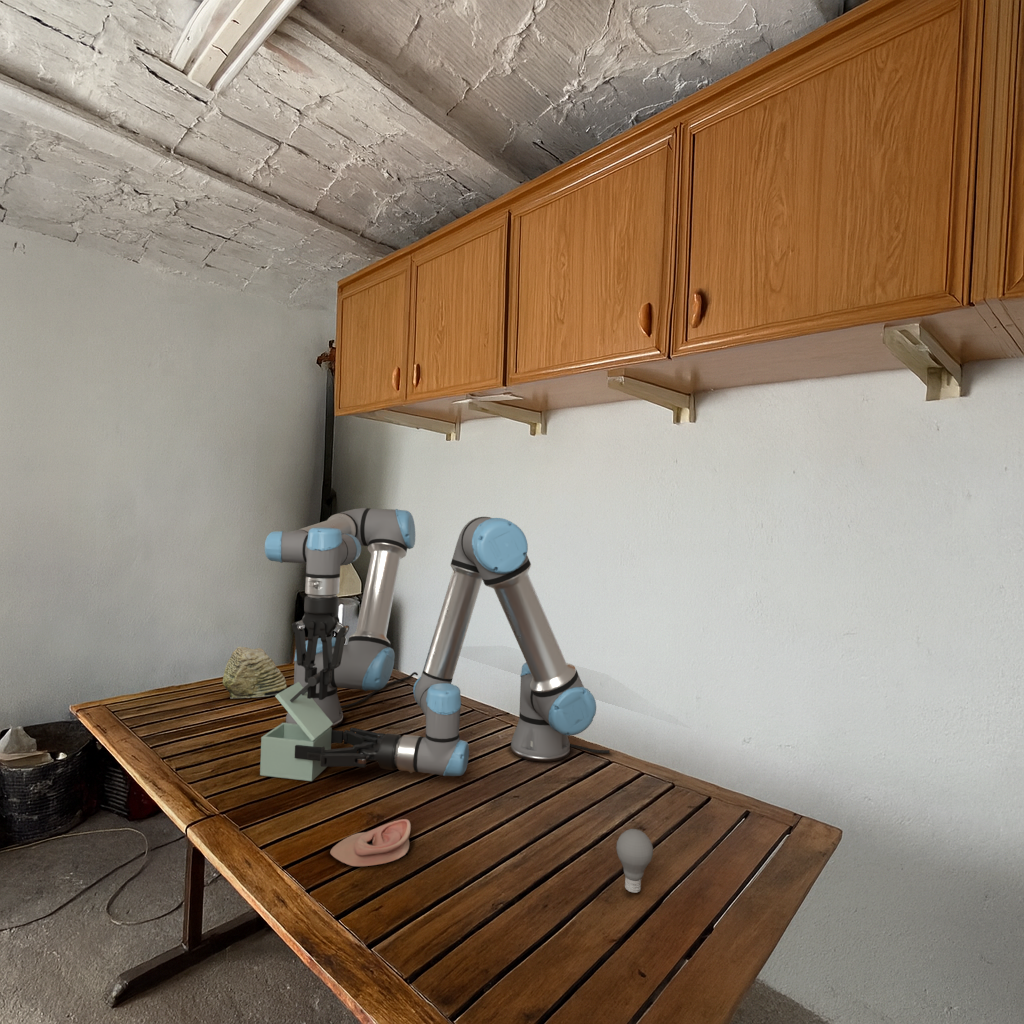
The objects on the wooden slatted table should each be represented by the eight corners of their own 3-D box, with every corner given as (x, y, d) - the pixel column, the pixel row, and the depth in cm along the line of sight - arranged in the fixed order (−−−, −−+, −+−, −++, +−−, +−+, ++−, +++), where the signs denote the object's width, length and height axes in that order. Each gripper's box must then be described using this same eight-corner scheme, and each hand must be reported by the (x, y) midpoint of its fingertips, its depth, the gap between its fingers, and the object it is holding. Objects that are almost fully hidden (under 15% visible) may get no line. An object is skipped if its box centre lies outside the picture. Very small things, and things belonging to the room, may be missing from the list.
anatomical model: (322, 838, 110) (352, 807, 121) (321, 861, 110) (351, 828, 121) (394, 850, 107) (417, 817, 119) (393, 873, 107) (416, 838, 119)
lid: (274, 696, 142) (303, 670, 141) (295, 684, 151) (322, 659, 150) (311, 741, 141) (340, 715, 140) (330, 726, 150) (357, 702, 149)
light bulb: (610, 879, 108) (613, 822, 108) (644, 879, 109) (647, 822, 109) (619, 902, 102) (622, 840, 102) (655, 901, 103) (658, 840, 103)
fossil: (218, 695, 195) (220, 647, 195) (278, 685, 208) (279, 640, 207) (228, 703, 189) (230, 653, 188) (289, 692, 201) (290, 645, 201)
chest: (259, 775, 143) (261, 737, 142) (281, 758, 152) (282, 722, 152) (311, 781, 141) (313, 742, 141) (330, 763, 150) (331, 727, 150)
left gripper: (282, 595, 142) (278, 699, 143) (346, 600, 140) (341, 705, 140) (299, 590, 150) (294, 689, 150) (359, 595, 147) (355, 695, 148)
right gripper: (381, 791, 132) (281, 779, 135) (413, 749, 154) (326, 740, 157) (383, 755, 132) (282, 744, 135) (415, 719, 154) (327, 710, 157)
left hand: (317, 697), depth 145 cm, fingers closed on lid, 2 cm apart
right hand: (306, 742), depth 146 cm, fingers closed on chest, 10 cm apart
